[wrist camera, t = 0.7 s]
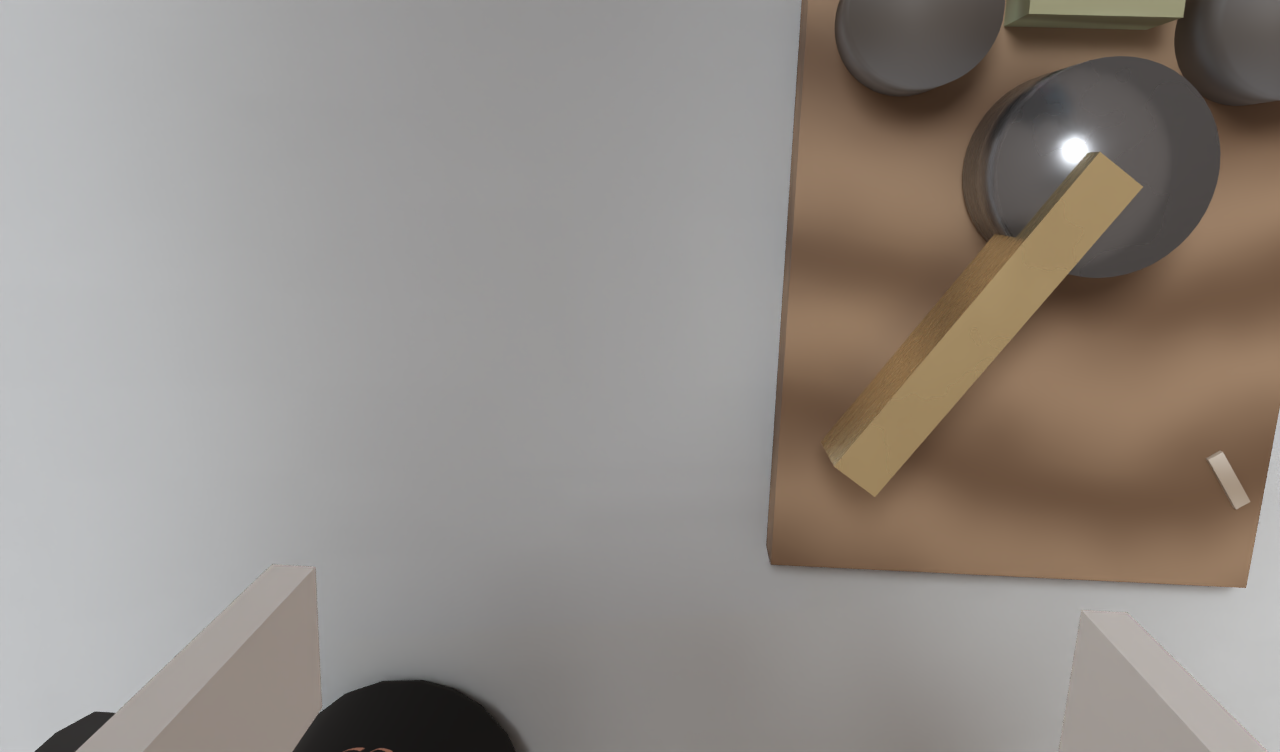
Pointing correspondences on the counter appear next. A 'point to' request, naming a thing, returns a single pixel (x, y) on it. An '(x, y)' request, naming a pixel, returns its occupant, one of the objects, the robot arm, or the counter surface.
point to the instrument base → (1058, 330)
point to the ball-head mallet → (1041, 233)
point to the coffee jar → (404, 722)
